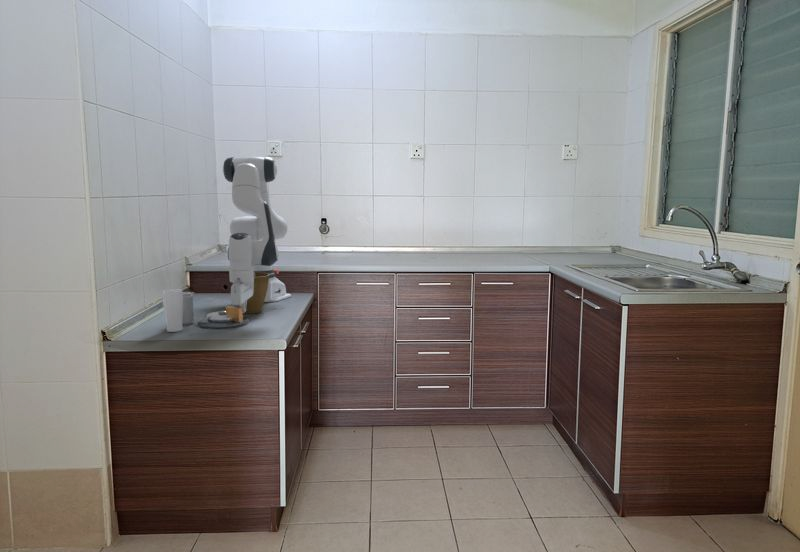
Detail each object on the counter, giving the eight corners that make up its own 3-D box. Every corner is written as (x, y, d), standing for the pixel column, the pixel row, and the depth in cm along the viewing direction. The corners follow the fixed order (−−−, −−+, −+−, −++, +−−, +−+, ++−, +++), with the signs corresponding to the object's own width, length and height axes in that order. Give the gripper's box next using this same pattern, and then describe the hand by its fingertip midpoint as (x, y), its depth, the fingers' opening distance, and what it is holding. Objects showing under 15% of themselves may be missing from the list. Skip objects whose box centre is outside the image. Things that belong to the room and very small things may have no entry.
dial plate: (224, 315, 237) (224, 312, 237) (259, 320, 228) (259, 317, 228) (186, 325, 221) (186, 321, 221) (223, 330, 212) (223, 326, 212)
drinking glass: (173, 333, 207) (171, 292, 205) (160, 331, 211) (158, 290, 208) (188, 330, 213) (186, 289, 211) (175, 327, 216) (173, 288, 214)
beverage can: (196, 321, 227) (195, 291, 225) (190, 325, 220) (188, 294, 218) (180, 321, 227) (178, 291, 225) (173, 325, 220) (171, 294, 219)
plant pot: (251, 317, 235) (250, 278, 233) (226, 313, 243) (224, 275, 241) (277, 311, 247) (276, 273, 245) (253, 307, 255) (251, 271, 253)
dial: (200, 320, 223) (199, 306, 222) (225, 314, 233) (224, 301, 232) (228, 325, 214) (227, 311, 214) (252, 319, 224) (252, 305, 224)
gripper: (243, 281, 210) (244, 318, 212) (256, 272, 230) (257, 307, 232) (225, 281, 210) (227, 318, 212) (240, 272, 230) (241, 307, 232)
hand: (243, 312), depth 222 cm, fingers closed
